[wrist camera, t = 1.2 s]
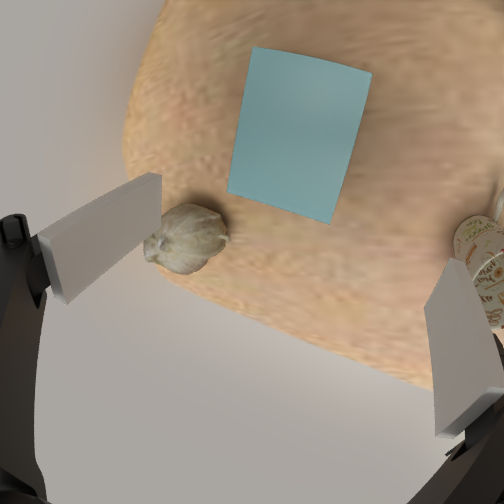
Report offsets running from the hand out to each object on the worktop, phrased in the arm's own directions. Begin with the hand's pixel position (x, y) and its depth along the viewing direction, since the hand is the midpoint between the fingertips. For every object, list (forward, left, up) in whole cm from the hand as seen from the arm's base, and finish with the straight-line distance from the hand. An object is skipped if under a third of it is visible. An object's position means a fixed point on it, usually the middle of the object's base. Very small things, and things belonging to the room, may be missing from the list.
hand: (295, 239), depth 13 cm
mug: (+1, +18, -20) cm, 26 cm away
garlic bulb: (+12, -12, -20) cm, 26 cm away
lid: (-2, -3, -15) cm, 15 cm away
